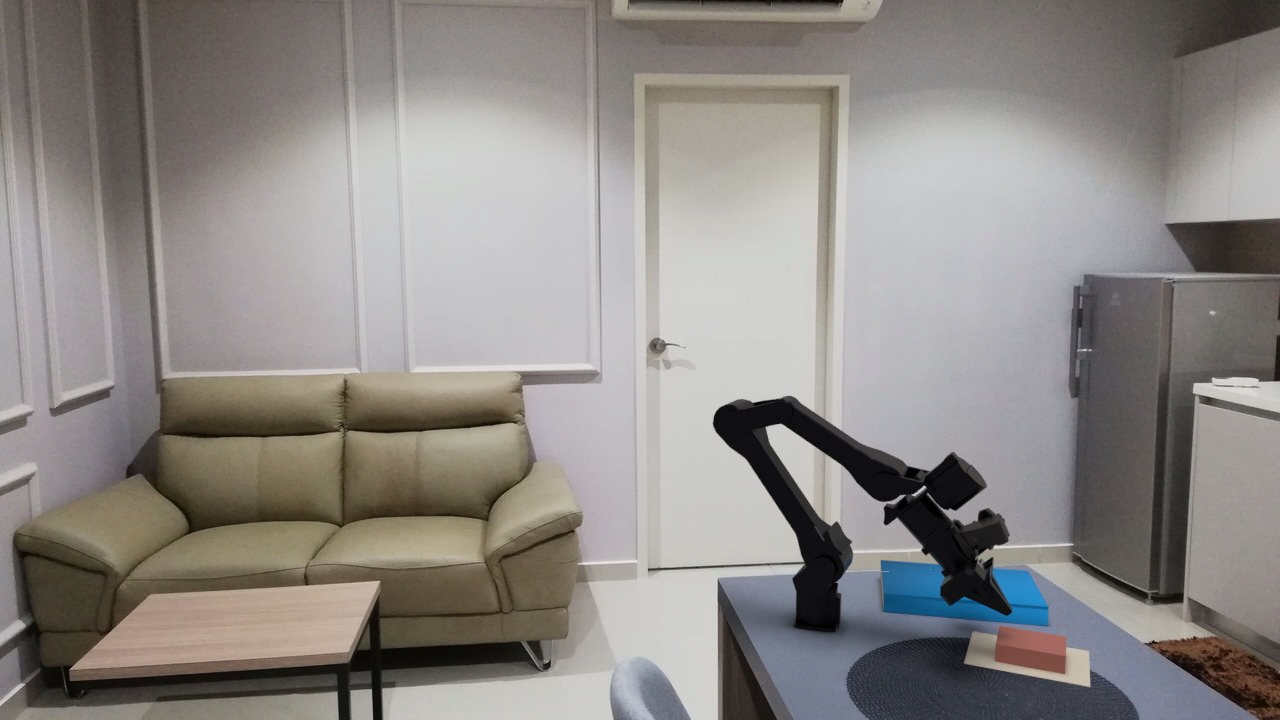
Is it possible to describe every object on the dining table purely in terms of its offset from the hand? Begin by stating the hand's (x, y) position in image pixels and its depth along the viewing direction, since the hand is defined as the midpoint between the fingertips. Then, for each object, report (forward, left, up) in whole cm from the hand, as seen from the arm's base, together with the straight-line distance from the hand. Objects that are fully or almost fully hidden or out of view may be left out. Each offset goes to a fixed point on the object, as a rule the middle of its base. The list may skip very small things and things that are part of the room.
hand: (1009, 613), depth 129 cm
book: (-6, +20, -7) cm, 22 cm away
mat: (+3, 0, -7) cm, 7 cm away
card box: (-1, 0, -5) cm, 5 cm away
